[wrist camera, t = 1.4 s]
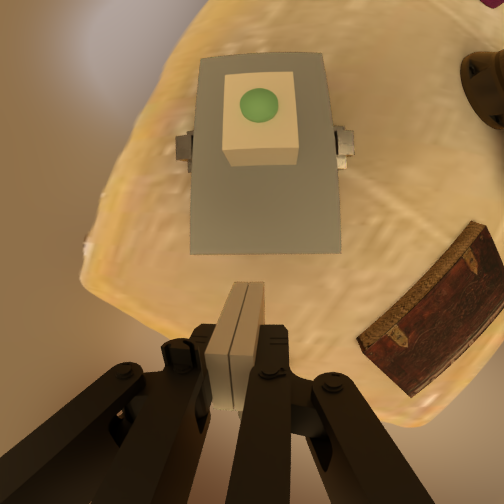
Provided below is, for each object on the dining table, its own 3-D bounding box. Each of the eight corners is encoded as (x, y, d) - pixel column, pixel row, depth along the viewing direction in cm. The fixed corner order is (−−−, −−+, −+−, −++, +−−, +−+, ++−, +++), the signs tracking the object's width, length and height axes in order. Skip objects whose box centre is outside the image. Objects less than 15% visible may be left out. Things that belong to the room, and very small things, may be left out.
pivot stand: (190, 132, 38) (173, 125, 31) (342, 128, 36) (355, 118, 29) (195, 235, 42) (179, 247, 35) (343, 234, 40) (355, 245, 33)
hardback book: (404, 384, 47) (412, 399, 42) (355, 336, 44) (362, 352, 40) (501, 287, 39) (515, 296, 34) (469, 220, 37) (486, 225, 32)
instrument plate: (203, 68, 33) (187, 32, 25) (321, 63, 31) (328, 24, 23) (194, 254, 32) (167, 254, 24) (338, 253, 31) (358, 252, 23)
